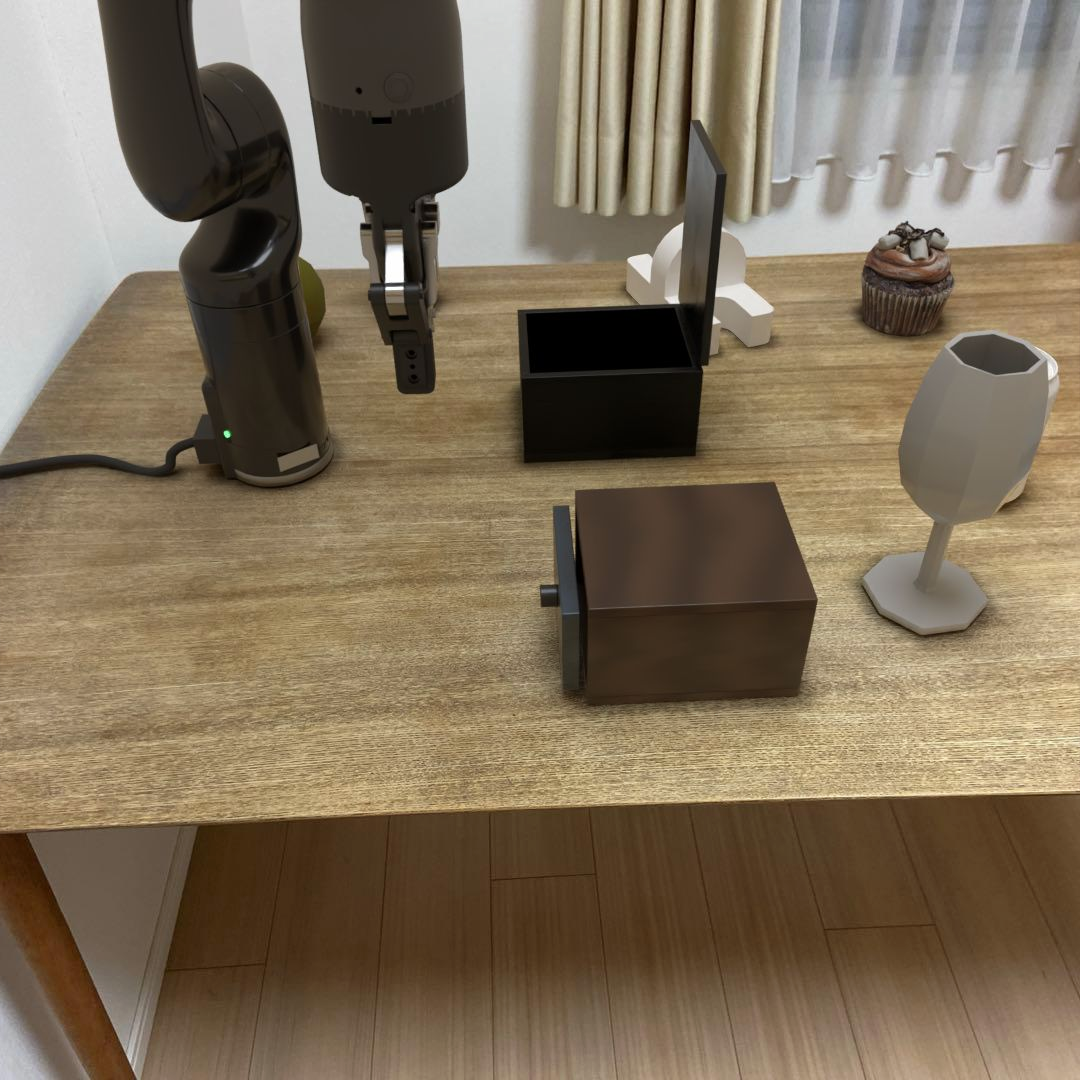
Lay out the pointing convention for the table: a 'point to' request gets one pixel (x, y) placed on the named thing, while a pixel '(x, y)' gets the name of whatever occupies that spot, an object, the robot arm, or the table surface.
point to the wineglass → (961, 469)
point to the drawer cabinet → (690, 593)
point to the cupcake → (906, 281)
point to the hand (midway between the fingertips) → (417, 387)
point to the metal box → (608, 383)
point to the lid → (701, 239)
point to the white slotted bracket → (732, 298)
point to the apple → (312, 295)
